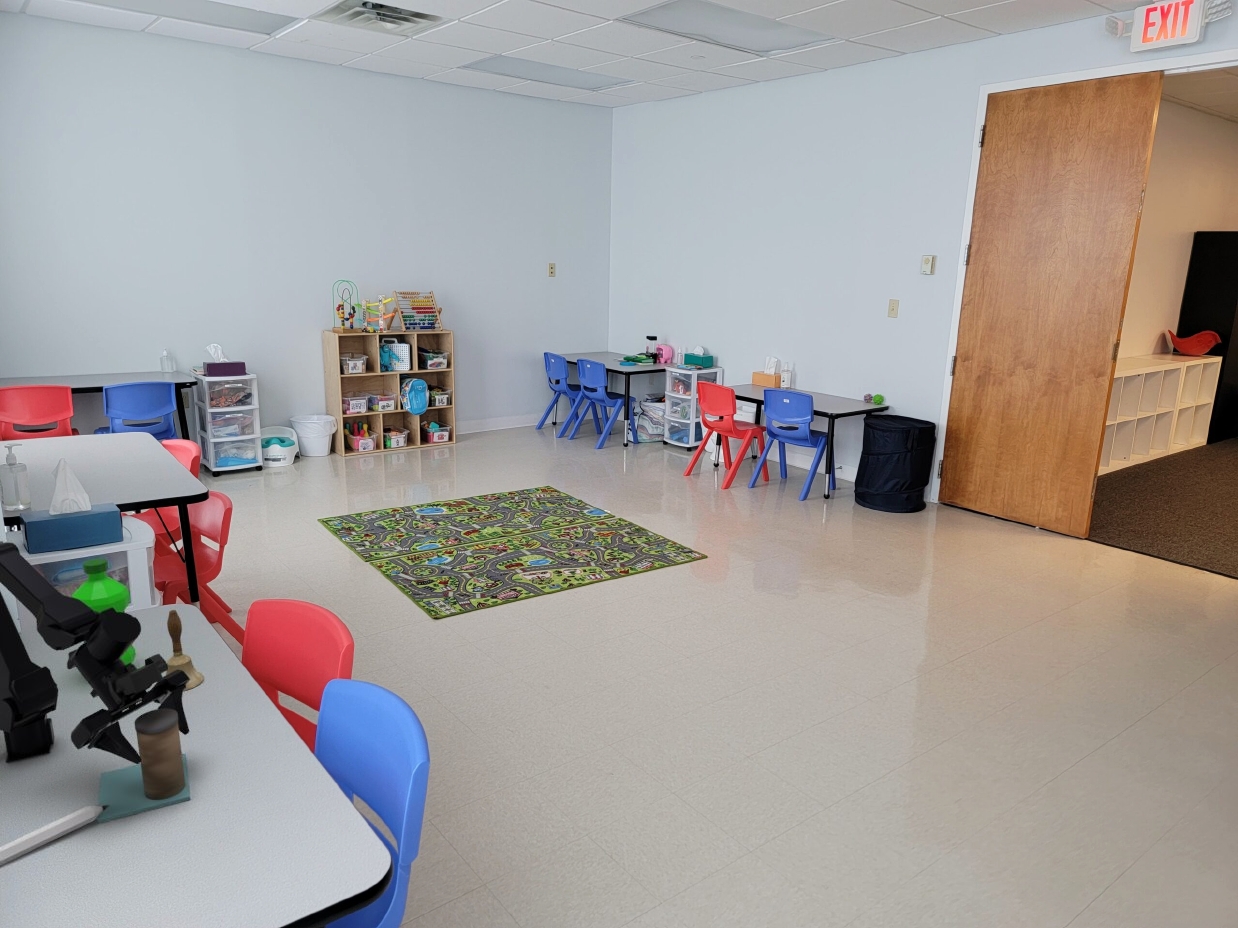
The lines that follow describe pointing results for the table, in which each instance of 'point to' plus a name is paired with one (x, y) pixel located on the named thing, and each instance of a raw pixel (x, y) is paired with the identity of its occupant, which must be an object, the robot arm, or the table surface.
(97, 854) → the table surface
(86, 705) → the table surface
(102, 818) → the mat
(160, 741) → the brown upright cylinder
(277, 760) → the table surface
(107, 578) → the plastic bottle
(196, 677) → the hand bell
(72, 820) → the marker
